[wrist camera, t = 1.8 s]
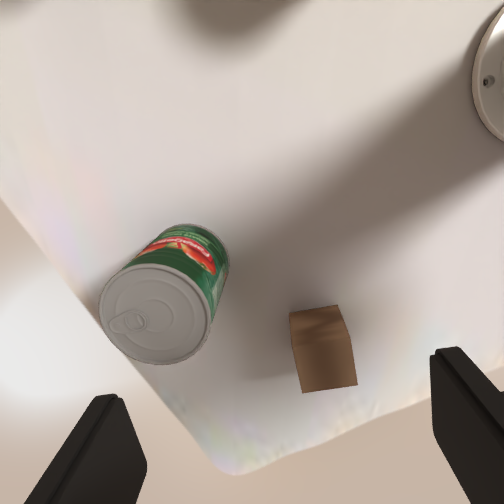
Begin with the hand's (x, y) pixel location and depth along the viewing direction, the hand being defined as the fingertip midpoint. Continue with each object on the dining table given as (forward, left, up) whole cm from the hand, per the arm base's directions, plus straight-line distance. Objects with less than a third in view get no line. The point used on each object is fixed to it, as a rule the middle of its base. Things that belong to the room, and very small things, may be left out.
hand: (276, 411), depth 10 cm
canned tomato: (+9, +2, -24) cm, 25 cm away
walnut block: (-2, +12, -24) cm, 27 cm away
